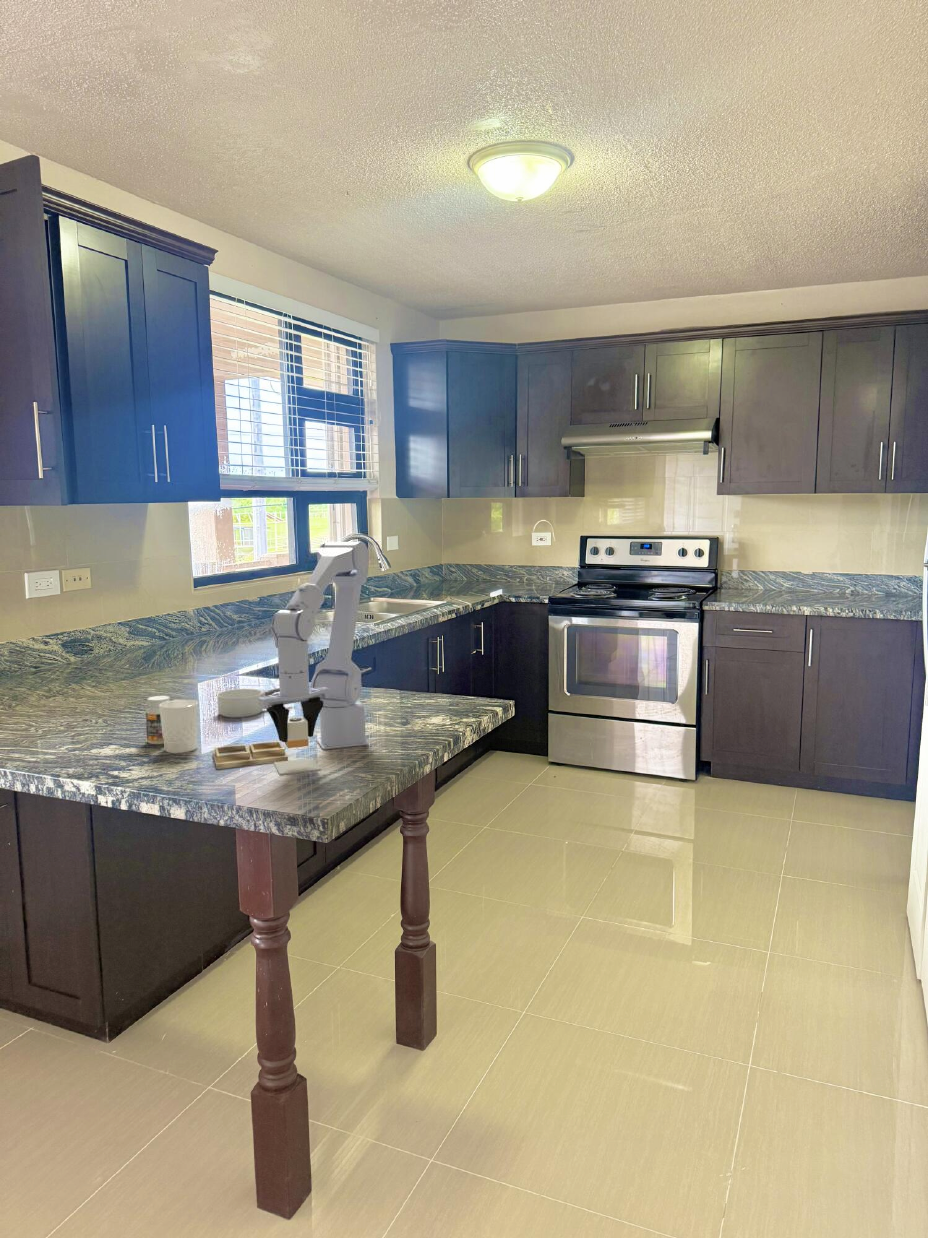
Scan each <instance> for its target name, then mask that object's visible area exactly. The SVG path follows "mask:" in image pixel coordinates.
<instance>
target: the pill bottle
mask: <svg viewBox="0 0 928 1238" xmlns="http://www.w3.org/2000/svg"><path fill="white" fill-rule="evenodd" d="M167 701H171V697H170V696H168V695H155V696H150V697H147V705H148V707H147V708H146V710H145V725H146V726H145V727H146V742H147V743H148V744H151V745H164V739H163V735H162V727H161V718H160V709H159V705H160V704H161V703H164V702H167Z"/></svg>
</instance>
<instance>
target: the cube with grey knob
mask: <svg viewBox="0 0 928 1238" xmlns="http://www.w3.org/2000/svg"><path fill="white" fill-rule="evenodd" d="M287 730H288V740H287V742H284V744H285V745H286V748H287V749H293V748H304V747H309V736H308V721H307V720H306V719H305V717H303V716H298V717H288V724H287Z"/></svg>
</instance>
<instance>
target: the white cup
mask: <svg viewBox="0 0 928 1238" xmlns="http://www.w3.org/2000/svg"><path fill="white" fill-rule="evenodd" d="M159 709H160V718H161V727H162V735H163V739H164V744H163V748H164V751H165V752H167V753H171V754H182V753H188V752H192V751H195V750H196V749H197V748H198V736H199V702H198V701H197V700H194V699H175V700H174V699H173V700H170V701H167V702H164V703H161V704H160V705H159Z"/></svg>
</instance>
